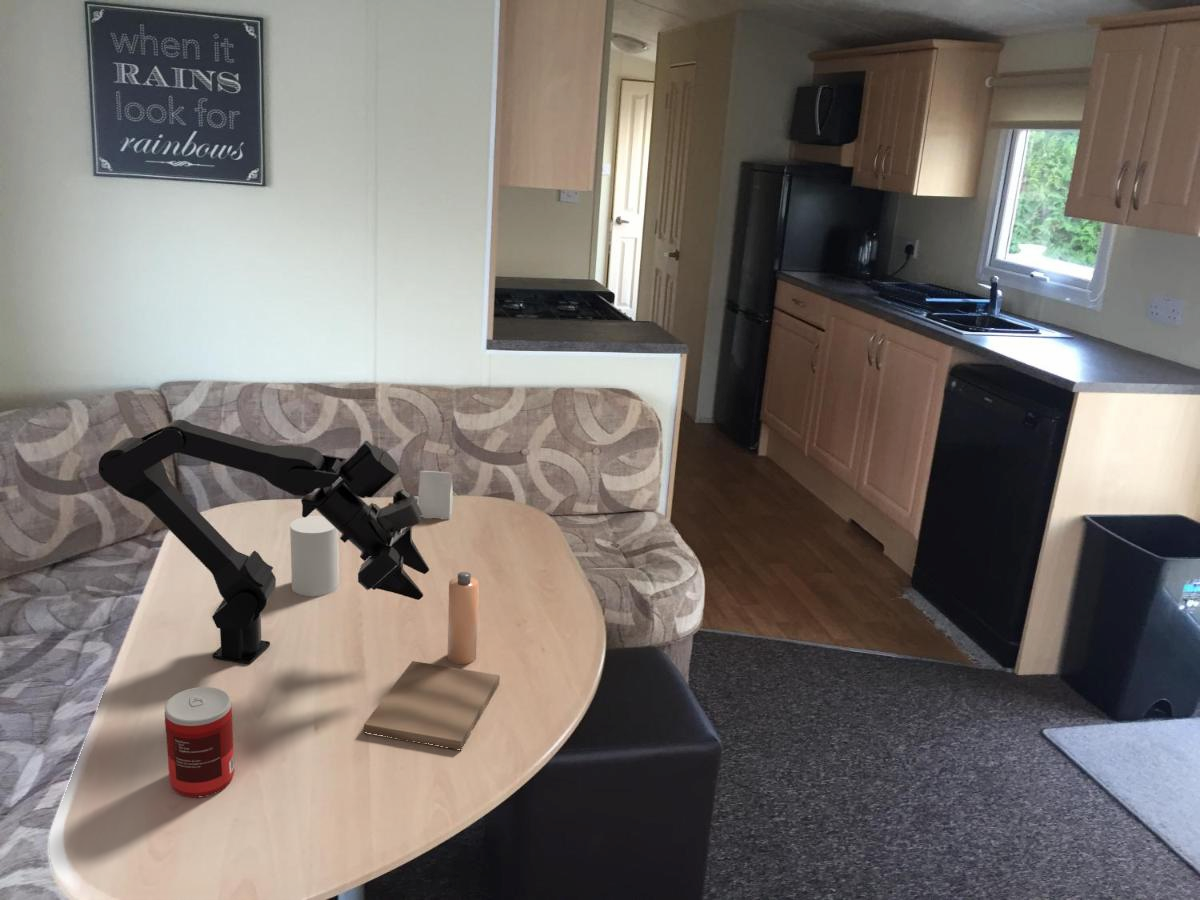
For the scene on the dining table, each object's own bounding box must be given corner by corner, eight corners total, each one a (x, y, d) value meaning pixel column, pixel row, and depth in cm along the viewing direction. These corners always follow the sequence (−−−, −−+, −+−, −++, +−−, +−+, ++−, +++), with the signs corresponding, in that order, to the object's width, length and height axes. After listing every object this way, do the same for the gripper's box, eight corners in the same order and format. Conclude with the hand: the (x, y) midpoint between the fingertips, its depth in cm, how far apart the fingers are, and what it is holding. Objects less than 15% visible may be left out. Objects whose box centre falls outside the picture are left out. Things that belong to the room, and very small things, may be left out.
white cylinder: (345, 579, 183) (344, 518, 179) (329, 598, 175) (328, 535, 171) (302, 574, 183) (300, 513, 180) (284, 593, 176) (282, 530, 172)
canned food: (213, 753, 131) (209, 679, 127) (247, 779, 126) (244, 704, 123) (157, 778, 125) (151, 702, 122) (190, 807, 120) (185, 728, 117)
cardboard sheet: (461, 750, 135) (461, 741, 134) (363, 733, 137) (363, 724, 137) (499, 683, 152) (499, 675, 151) (412, 669, 154) (412, 660, 153)
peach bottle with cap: (471, 666, 156) (473, 582, 152) (443, 661, 157) (445, 578, 152) (480, 652, 160) (483, 570, 156) (452, 648, 161) (455, 566, 157)
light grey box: (449, 519, 214) (450, 475, 211) (418, 517, 214) (418, 473, 211) (452, 513, 217) (453, 470, 214) (421, 511, 217) (421, 468, 214)
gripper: (380, 503, 140) (458, 577, 144) (397, 461, 158) (465, 528, 162) (324, 553, 142) (402, 625, 146) (347, 506, 159) (416, 571, 164)
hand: (424, 584), depth 154 cm, fingers open, 9 cm apart
